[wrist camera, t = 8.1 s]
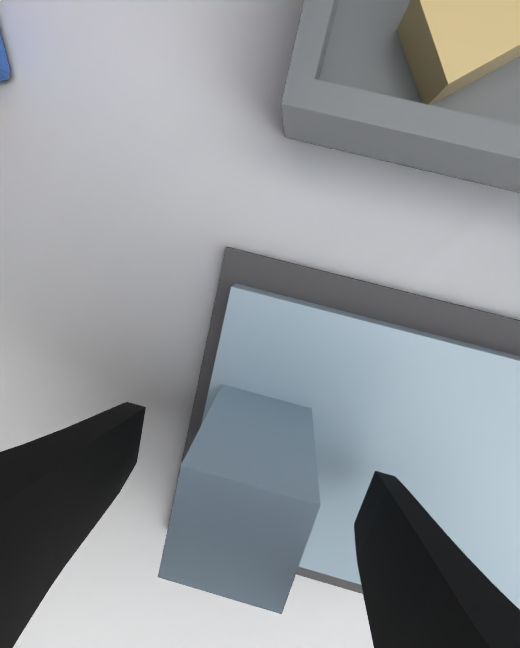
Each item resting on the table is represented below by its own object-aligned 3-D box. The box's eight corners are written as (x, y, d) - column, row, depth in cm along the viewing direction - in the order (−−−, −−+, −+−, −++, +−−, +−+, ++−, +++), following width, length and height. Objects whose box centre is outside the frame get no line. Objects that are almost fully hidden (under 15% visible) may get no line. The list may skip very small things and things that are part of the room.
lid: (696, 401, 10) (1036, 538, 5) (549, 619, 13) (696, 840, 8) (235, 283, 11) (189, 316, 6) (184, 514, 13) (125, 662, 9)
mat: (732, 374, 10) (745, 378, 10) (549, 640, 13) (554, 649, 13) (227, 246, 11) (225, 247, 10) (169, 530, 14) (166, 536, 14)
